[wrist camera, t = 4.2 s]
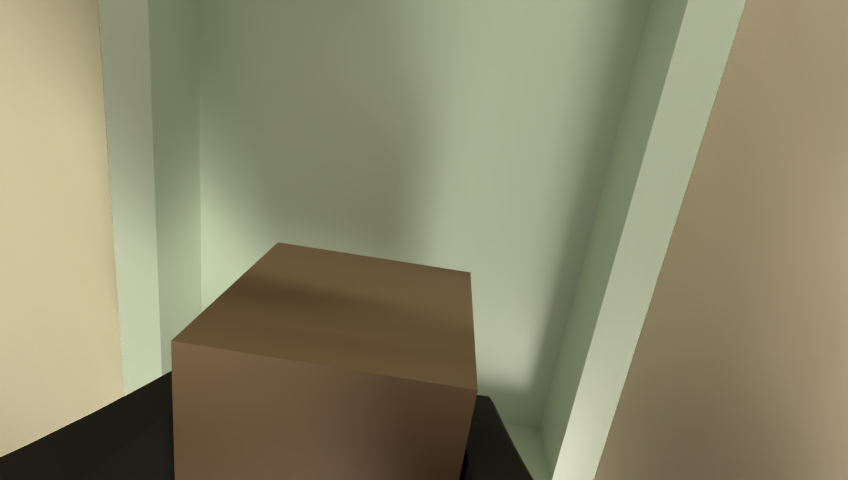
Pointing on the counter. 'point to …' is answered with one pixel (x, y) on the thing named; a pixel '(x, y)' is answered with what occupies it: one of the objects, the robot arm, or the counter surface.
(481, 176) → the tray
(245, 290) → the block
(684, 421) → the counter surface
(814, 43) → the counter surface
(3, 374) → the counter surface
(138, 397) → the robot arm
